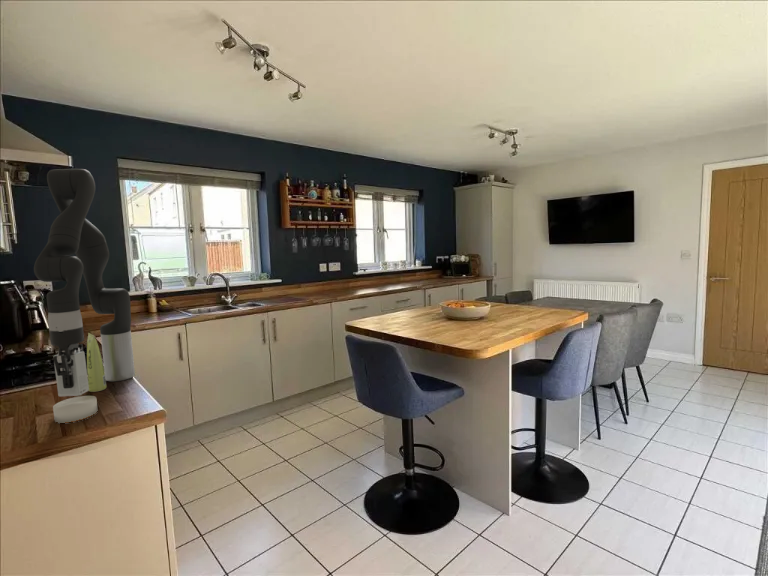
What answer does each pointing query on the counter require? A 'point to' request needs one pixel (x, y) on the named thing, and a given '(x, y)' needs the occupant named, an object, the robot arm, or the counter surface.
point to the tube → (95, 366)
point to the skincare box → (75, 377)
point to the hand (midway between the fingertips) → (72, 384)
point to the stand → (75, 409)
